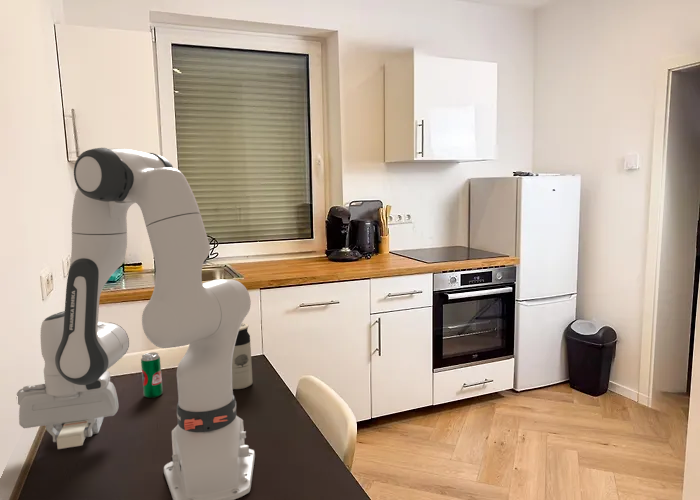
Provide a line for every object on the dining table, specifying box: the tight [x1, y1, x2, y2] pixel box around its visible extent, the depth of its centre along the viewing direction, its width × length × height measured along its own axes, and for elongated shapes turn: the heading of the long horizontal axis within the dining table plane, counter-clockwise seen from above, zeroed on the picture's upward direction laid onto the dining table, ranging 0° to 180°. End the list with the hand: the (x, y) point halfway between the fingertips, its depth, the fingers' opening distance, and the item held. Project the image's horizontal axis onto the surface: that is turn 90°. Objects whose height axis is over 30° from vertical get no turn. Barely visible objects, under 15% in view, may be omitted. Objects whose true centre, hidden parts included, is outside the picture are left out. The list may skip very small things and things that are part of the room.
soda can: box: [140, 351, 163, 399], centre depth 148 cm, size 5×5×12 cm
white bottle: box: [232, 322, 253, 390], centre depth 154 cm, size 8×8×18 cm
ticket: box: [56, 419, 90, 450], centre depth 125 cm, size 16×5×2 cm, turn 17°
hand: (73, 438), depth 121 cm, fingers closed on ticket, 5 cm apart
